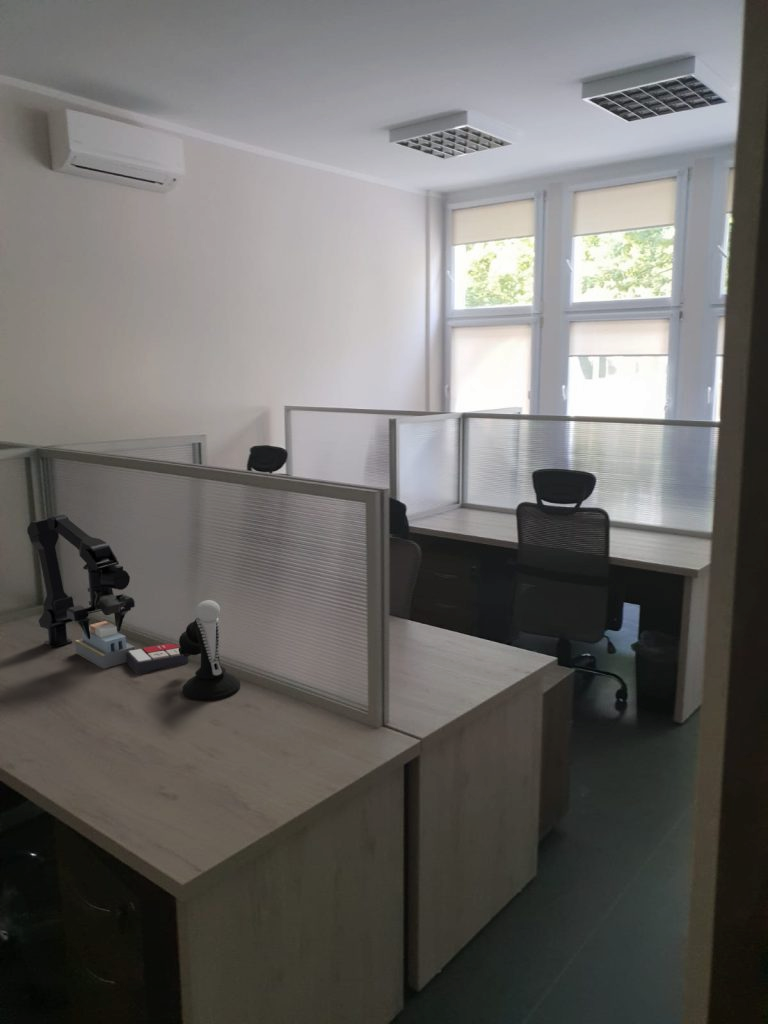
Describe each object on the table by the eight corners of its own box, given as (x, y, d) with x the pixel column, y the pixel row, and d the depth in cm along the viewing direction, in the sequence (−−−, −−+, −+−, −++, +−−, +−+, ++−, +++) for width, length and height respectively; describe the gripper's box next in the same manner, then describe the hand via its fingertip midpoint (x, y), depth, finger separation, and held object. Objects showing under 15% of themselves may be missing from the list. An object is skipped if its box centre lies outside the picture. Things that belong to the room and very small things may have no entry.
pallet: (83, 639, 238) (82, 629, 237) (101, 634, 242) (100, 624, 242) (107, 653, 227) (106, 641, 226) (126, 647, 231) (125, 636, 230)
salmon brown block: (90, 631, 235) (89, 624, 234) (106, 627, 238) (105, 620, 238) (95, 634, 232) (94, 627, 232) (111, 630, 236) (110, 623, 235)
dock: (76, 653, 238) (75, 640, 237) (107, 644, 245) (106, 632, 244) (103, 668, 226) (102, 655, 225) (135, 659, 233) (134, 646, 232)
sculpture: (197, 706, 200) (191, 612, 195) (160, 678, 218) (154, 592, 214) (250, 690, 209) (246, 600, 205) (210, 664, 228) (205, 581, 223)
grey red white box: (188, 651, 229) (137, 660, 221) (189, 665, 230) (137, 675, 221) (176, 641, 238) (126, 649, 230) (176, 654, 239) (126, 663, 230)
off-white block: (95, 634, 232) (94, 627, 232) (111, 630, 236) (110, 623, 235) (100, 637, 230) (100, 630, 229) (117, 633, 233) (116, 626, 233)
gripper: (80, 597, 219) (85, 650, 222) (142, 583, 232) (145, 633, 235) (63, 589, 227) (68, 640, 230) (124, 576, 240) (127, 625, 243)
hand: (103, 635), depth 234 cm, fingers open, 9 cm apart
